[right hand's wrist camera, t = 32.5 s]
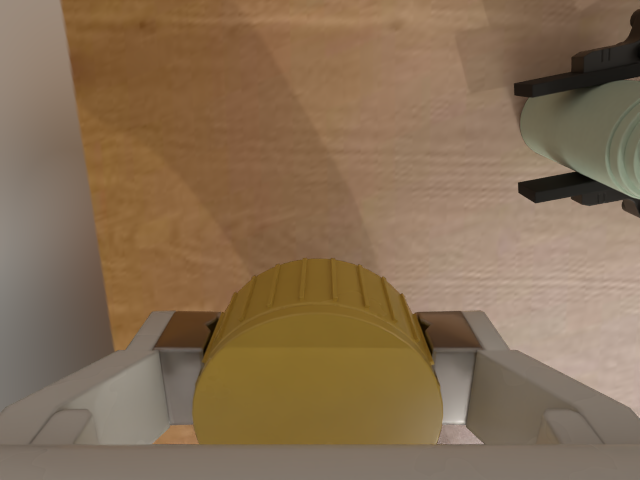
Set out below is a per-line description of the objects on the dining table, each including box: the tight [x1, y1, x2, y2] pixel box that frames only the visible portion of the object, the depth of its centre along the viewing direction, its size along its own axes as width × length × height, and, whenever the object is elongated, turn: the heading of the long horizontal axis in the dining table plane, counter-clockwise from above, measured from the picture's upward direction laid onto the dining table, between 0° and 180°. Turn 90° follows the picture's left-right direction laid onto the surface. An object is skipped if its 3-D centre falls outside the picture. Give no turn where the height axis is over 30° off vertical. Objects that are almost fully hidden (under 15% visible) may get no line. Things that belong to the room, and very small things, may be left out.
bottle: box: [520, 80, 640, 199], centre depth 26 cm, size 6×6×19 cm
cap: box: [192, 258, 443, 444], centre depth 9 cm, size 5×5×2 cm
